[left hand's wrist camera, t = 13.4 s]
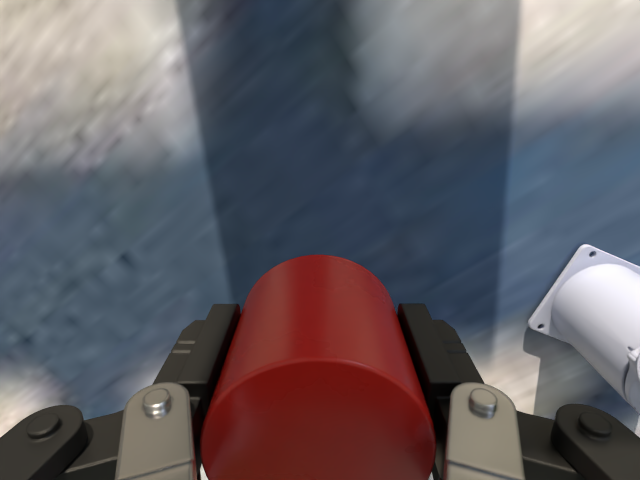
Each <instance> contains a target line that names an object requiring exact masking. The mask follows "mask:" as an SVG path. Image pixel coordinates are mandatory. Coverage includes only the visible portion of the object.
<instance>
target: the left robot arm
mask: <svg viewBox="0 0 640 480" xmlns="http://www.w3.org/2000/svg"><path fill="white" fill-rule="evenodd" d="M240 316H241V313H240V306H239V304H214V305H213V306H212V308H211V310H210V312H209V314H208V316H207V318H206V320H195V321H194V322H193V323H191V324H190V325H189V326H187V327H186V328H185V329H184V330H183V331H182V333H181V334H180V336H179V338H178V340H177V343H176V344H175V345H174V347H173V349H172V350H171V353H170V354H169V356H168V358H167V359H166V361H165V363H164V365H163V367H162V368H161V370H160V372H159V374H158V375H157V377H156V379H155V381H154V383H153V384H152V385H151V386H148V387H146V388H144V389H142V390H140V391H138V392H137V393H136V394H134V395H133V396H132V397H131V398H130V399H129V401H128V402H127V403H126V405H125V408H124V410H122V411H119V412H117V413H113V414H109V415H105V416H101V417H97V418H92V419H88V420H84V419H83V415H82V412H81V411H80V410H79V409H78V408H76V407H74V406H70V405H58V406H53V407H48V408H45V409H42V410H40V411H37V412H35V413H33V414H31V415H29V416H28V417H26V418H25V419H23V420H22V421H20V422H19V423H18V424H17V425H15V426H14V427H13V428H12V429H10V430H9V431H8V432H7V433H6V434H4V435H3V436H2V437H1V438H0V480H201V474H200V467H201V464H202V460H201V454H200V435H201V429H202V425H203V422H204V419H205V417H206V414H207V411H208V408H209V405H210V402H211V399H212V396H213V393H214V391H215V388H216V385H217V382H218V379H219V376H220V373H221V370H222V367H223V365H224V362H225V359H226V356H227V353H228V350H229V347H230V344H231V342H232V339H233V336H234V333H235V330H236V327H237V324H238V321H239V318H240ZM397 317H398V320H399V323H400V326H401V329H402V332H403V335H404V338H405V341H406V344H407V347H408V350H409V353H410V356H411V359H412V362H413V365H414V368H415V371H416V374H417V377H418V380H419V382H420V385H421V388H422V391H423V394H424V397H425V400H426V403H427V406H428V409H429V412H430V415H431V418H432V421H433V425H434V429H435V433H436V444H437V447H436V457H435V463H436V466H437V469H438V473H439V480H640V438H639V437H638V436H637V435H636V434H634V433H633V432H632V431H631V430H630V429H628V428H627V427H626V426H625V425H623V424H622V423H621V422H620V421H618V420H617V419H616V418H614V417H613V416H611V415H609V414H608V413H606V412H604V411H602V410H599V409H597V408H594V407H591V406H587V405H582V404H567V405H564V406H562V407H560V408H559V409H558V410H557V413H556V416H555V420H552V419H547V418H543V417H539V416H535V415H530V414H526V413H523V412H519V411H517V410H516V408H515V405H514V403H513V402H512V401H511V399H510V398H509V397H508V396H507V395H506V394H504V393H503V392H502V391H500V390H498V389H496V388H494V387H492V386H489V385H487V384H485V383H484V382H483V380H482V378H481V376H480V374H479V373H478V371H477V369H476V367H475V365H474V364H473V362H472V360H471V358H470V356H469V354H468V353H466V349H465V347H464V345H463V344H462V343H461V340H460V338H459V336H458V335H457V333H456V331H455V329H453V328H452V327H451V326H450V325H448V324H447V323H446V322H444V321H443V320H432V318H431V316H430V314H429V312H428V310H427V308H426V306H425V304H399V306H398V313H397Z"/></svg>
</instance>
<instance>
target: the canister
mask: <svg viewBox="0 0 640 480" xmlns="http://www.w3.org/2000/svg"><path fill="white" fill-rule="evenodd" d="M436 447H437V444H436V433H435V429H434V425H433V421H432V418H431V415H430V412H429V409H428V406H427V403H426V400H425V397H424V394H423V391H422V388H421V385H420V382H419V380H418V377H417V374H416V371H415V368H414V365H413V362H412V359H411V356H410V353H409V350H408V347H407V344H406V341H405V338H404V335H403V332H402V329H401V326H400V323H399V320H398V317H397V314H396V311H395V308H394V305H393V302H392V300H391V297H390V295H389V293H388V291H387V290H386V288H385V287H384V285H383V284H382V283H381V282H380V281H379V279H378V278H377V277H376V276H374V275H373V274H372V273H371V272H370V271H368V270H367V269H365V268H364V267H362V266H361V265H359V264H357V263H355V262H353V261H350V260H347V259H344V258H340V257H336V256H330V255H308V256H301V257H297V258H294V259H290V260H288V261H285V262H283V263H280V264H279V265H277V266H275V267H273V268H272V269H270V270H269V271H268V272H267V273H265V274H264V275H263V276H262V277H261V278H260V279H259V280H258V281H257V282H256V283H255V285H254V286H253V288H252V289H251V291H250V292H249V294H248V296H247V299H246V301H245V304H244V307H243V310H242V313H241V316H240V318H239V321H238V324H237V327H236V330H235V333H234V336H233V339H232V342H231V344H230V347H229V350H228V353H227V356H226V359H225V362H224V365H223V367H222V370H221V373H220V376H219V379H218V382H217V385H216V388H215V391H214V393H213V396H212V399H211V402H210V405H209V408H208V411H207V414H206V417H205V419H204V422H203V425H202V429H201V435H200V454H201V460H202V465H203V468H204V471H205V473H206V476H207V478H208V480H428V478H429V476H430V474H431V472H432V469H433V465H434V462H435V457H436Z"/></svg>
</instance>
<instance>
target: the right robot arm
mask: <svg viewBox="0 0 640 480" xmlns="http://www.w3.org/2000/svg"><path fill="white" fill-rule="evenodd" d="M592 251H593V253H592V254H591V255H589V254H590V252H592ZM540 324H542V325H541V326H540V327H538V326H539V325H540ZM528 326H529V327H530V328H531V329H532V330H535V331H538V332H540V333H543V334H545V335H548V336H551V337H553V338H556V339H558V340H561V341H564V342H566V343H569V344H571V345H572V346H573V347H574V348H575V349H576V350H577V351H578V352H579V353H580V354H581V355H582V356H583V357H584V358H585V359H586V360H587V361H588V362H589V363H590V364H591V365H592V366H593V367H594V368H595V370H596V371H597V372H598V373H599V374H600V375H601V376H602V377H603V378H604V379H605V380H606V381H607V382H608V383H609V384H610V385H611V386H612V387H613V388H614V389H615V390H616V391H617V392H618V393H619V394H620V395H621V396H622V397H623V398H624V399H625V401H626V402H627V403H628V404H629V405H631V406H632V408H633V409H634V410H635V411H636V412H637V413H638V414H639V415H640V267H639V266H637V265H634V264H632V263H630V262H627V261H625V260H623V259H620V258H618V257H616V256H613V255H611V254H609V253H606V252H604V251H602V250H599V249H597V248H595V247H592V246H590V245H587V244H585V245H582V246H580V247H579V249H578V250H577V252H576V253H575V254H574V256H573V257H572V259H571V260H570V262H569V263H568V265H567V266H566V267H565V269H564V270H563V272H562V273H561V275H560V276H559V277H558V279H557V280H556V282H555V283H554V285H553V286H552V288H551V289H550V290H549V292H548V293H547V295H546V296H545V298H544V299H543V300H542V302H541V303H540V305H539V306H538V308H537V309H536V311H535V312H534V313H533V315H532V316H531V318H530V319H529V321H528ZM432 474H433V479H434V480H439V473H438V469H437V466H436V463H435V462H434V465H433V469H432Z"/></svg>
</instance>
